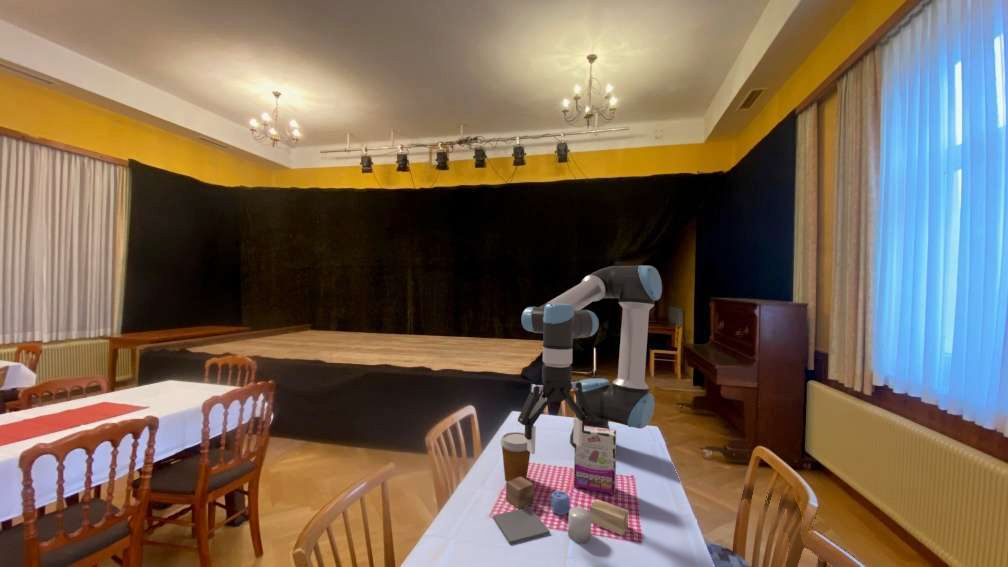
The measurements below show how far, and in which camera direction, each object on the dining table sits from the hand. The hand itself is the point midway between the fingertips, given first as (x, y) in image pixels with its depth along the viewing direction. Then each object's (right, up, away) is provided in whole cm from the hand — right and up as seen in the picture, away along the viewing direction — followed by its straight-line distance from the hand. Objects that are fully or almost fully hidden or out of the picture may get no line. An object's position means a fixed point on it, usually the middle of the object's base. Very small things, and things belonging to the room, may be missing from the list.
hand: (554, 448), depth 96 cm
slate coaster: (-9, -15, -7) cm, 19 cm away
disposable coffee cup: (-10, -15, +14) cm, 23 cm away
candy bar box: (+13, -16, +11) cm, 23 cm away
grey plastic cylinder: (+4, -16, -10) cm, 19 cm away
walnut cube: (-9, -15, +3) cm, 18 cm away
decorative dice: (+1, -16, -1) cm, 16 cm away
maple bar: (+12, -16, -6) cm, 21 cm away
